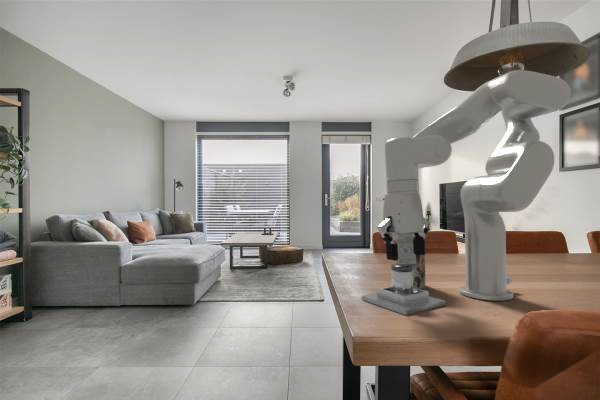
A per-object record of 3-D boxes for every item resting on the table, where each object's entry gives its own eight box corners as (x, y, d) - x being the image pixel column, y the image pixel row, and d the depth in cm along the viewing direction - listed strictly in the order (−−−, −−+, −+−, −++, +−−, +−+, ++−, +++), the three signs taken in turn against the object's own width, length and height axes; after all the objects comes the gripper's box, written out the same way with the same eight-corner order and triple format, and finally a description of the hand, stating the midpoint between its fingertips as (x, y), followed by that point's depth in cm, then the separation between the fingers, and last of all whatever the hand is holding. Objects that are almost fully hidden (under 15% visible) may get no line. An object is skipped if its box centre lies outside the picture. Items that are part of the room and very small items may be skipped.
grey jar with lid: (417, 299, 82) (417, 266, 82) (403, 302, 79) (403, 268, 79) (401, 294, 86) (401, 263, 86) (386, 297, 84) (386, 265, 84)
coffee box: (419, 292, 92) (418, 233, 92) (395, 289, 95) (395, 232, 96) (426, 285, 100) (425, 231, 100) (404, 282, 103) (404, 230, 103)
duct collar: (400, 292, 92) (400, 281, 92) (445, 304, 80) (445, 292, 80) (361, 299, 85) (361, 287, 85) (405, 315, 73) (405, 301, 73)
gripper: (413, 188, 91) (417, 251, 91) (366, 190, 82) (369, 260, 82) (437, 186, 84) (441, 254, 84) (389, 188, 75) (393, 264, 75)
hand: (406, 257), depth 83 cm, fingers open, 9 cm apart
